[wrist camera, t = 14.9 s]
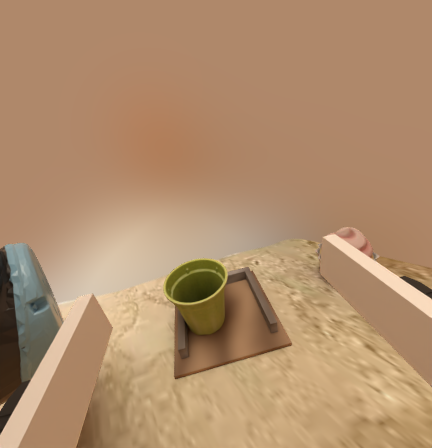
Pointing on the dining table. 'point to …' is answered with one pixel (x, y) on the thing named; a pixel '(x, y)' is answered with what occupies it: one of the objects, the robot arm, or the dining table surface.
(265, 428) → the dining table surface
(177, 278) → the plant pot
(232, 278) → the keeper bracket
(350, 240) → the cupcake
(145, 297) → the dining table surface
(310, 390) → the dining table surface
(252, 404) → the dining table surface
